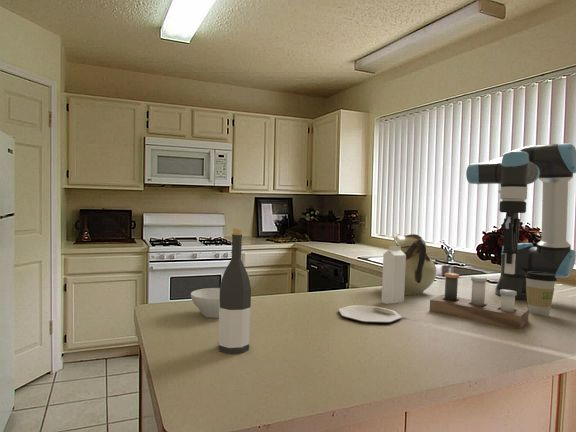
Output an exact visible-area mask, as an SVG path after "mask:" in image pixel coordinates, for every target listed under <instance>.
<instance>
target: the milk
mask: <svg viewBox="0 0 576 432" xmlns="http://www.w3.org/2000/svg"><path fill="white" fill-rule="evenodd" d="M382 259H383V261H382V276H381V278H382V280H381V285H382V286H381V303H383V304H386V305H389V304H397V303H404V302H405V295H404V288H405V266H406V255H405V254H404V253H403V252H402V251H401V246H397V245H391V246H389V247H388V250H387V251H386V252H384V253H383V256H382Z"/></svg>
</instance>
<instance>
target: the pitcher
mask: <svg viewBox="0 0 576 432" xmlns="http://www.w3.org/2000/svg"><path fill="white" fill-rule="evenodd" d="M393 240H394V243H395V246H401V251H402V252H403V253H404V254H405V255H406V266H405V288H404V296H414V295H417V294H424V291H426V290H427V289H429V288H430V287H431V286H432V284H433V283H434V282H435V280H436V277H437V266H436V264H435V263H434V261H433V260H432V259H431V258H430V256H429V255H428V253H427V244H426V242H425V240H424V239H423V237H422V236H420V235H418V234H417V233H416V234H415V233H412V234H407V235H402V234H401V235H400V234H398V233H394V234H393Z"/></svg>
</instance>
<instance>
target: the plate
mask: <svg viewBox="0 0 576 432" xmlns="http://www.w3.org/2000/svg"><path fill="white" fill-rule="evenodd" d="M375 309H381V310H385V311H390V312H392V313H393V314H392V313H388V312H384V311H380V310H375ZM337 311H338V312H339V313H340V316H341V317H342V318H345V319H349V320H353V321H355V322H356V321H357V322H360V323H373V324H375V323H376V324H389V323H390V324H391V323H393V322H396V321H398V320H402V315H400V314H399V313H398V312H397V311H395V310H393V309H389V308H385V307H380V306H377V305H358V304H357V305H356V304H354V305H348V306H344V307H340V308H338V310H337Z"/></svg>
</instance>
